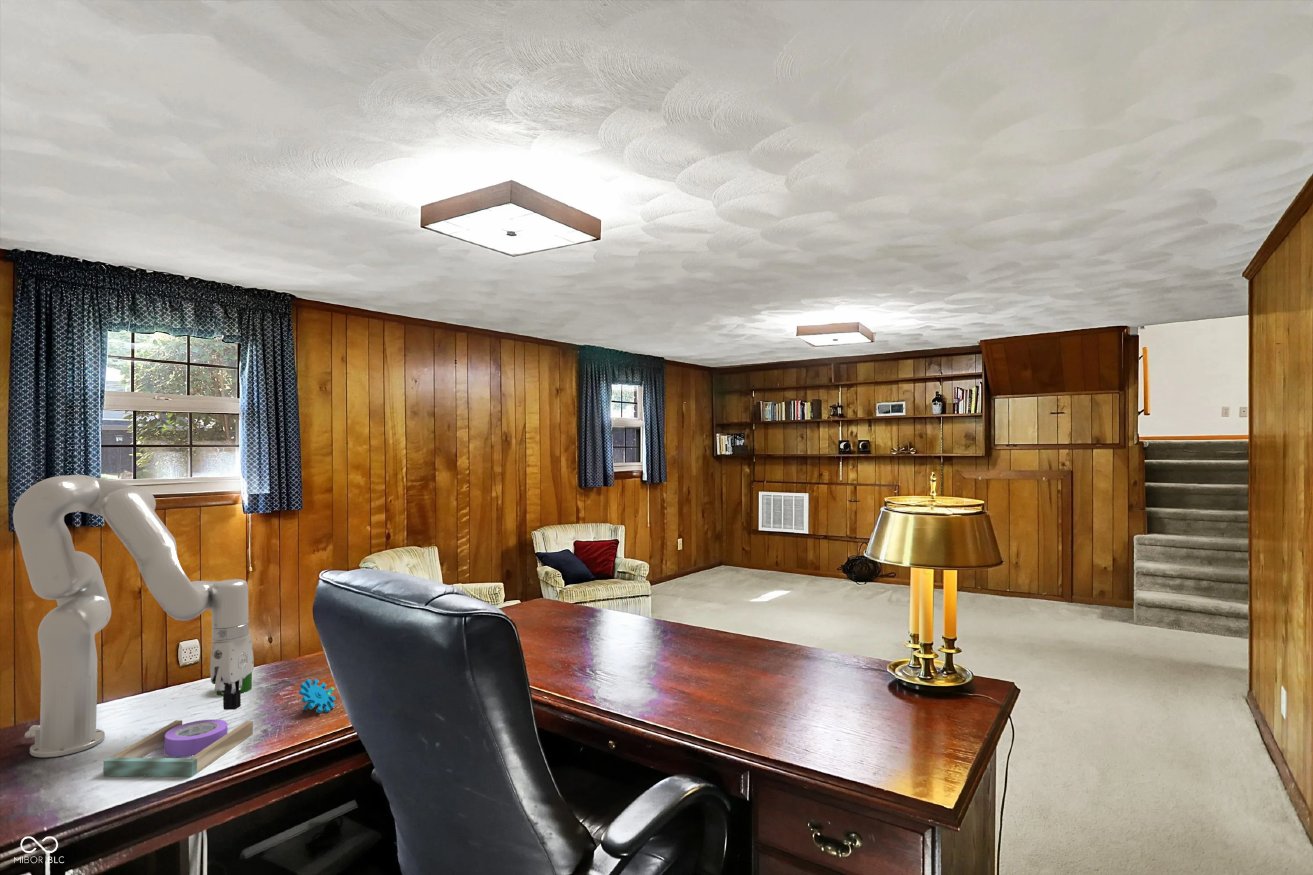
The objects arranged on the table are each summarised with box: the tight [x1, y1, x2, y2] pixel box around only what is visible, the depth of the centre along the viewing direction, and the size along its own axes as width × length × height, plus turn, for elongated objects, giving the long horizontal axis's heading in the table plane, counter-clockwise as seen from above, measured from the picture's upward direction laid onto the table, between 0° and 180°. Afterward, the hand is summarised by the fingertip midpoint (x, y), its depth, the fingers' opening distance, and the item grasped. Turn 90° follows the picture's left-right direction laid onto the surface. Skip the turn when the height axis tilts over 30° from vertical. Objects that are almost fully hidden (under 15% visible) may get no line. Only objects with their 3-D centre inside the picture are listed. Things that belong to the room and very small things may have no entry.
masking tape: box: [163, 719, 228, 758], centre depth 152 cm, size 12×12×4 cm
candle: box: [215, 671, 253, 697], centre depth 186 cm, size 8×8×10 cm
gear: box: [298, 678, 336, 714], centre depth 173 cm, size 11×6×10 cm
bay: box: [102, 719, 254, 778], centre depth 148 cm, size 18×20×3 cm
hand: (232, 708), depth 163 cm, fingers closed
